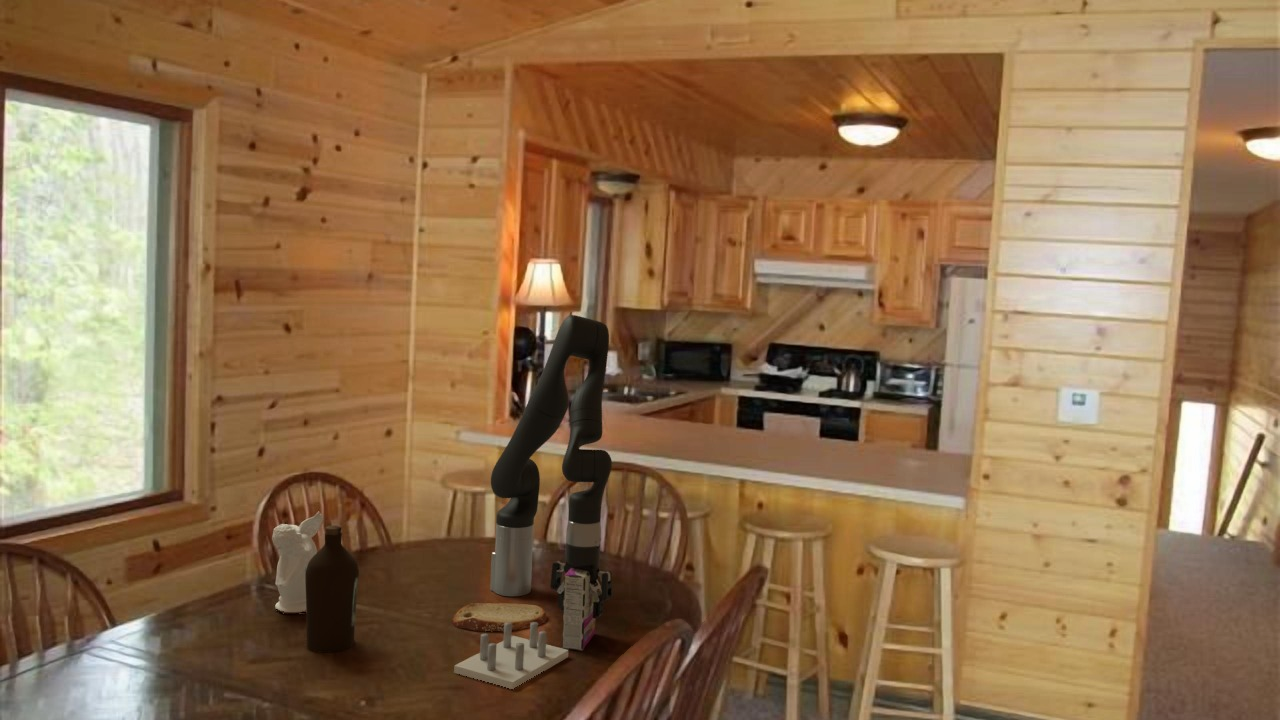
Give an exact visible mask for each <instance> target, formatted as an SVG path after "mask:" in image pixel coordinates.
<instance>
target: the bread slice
mask: <svg viewBox="0 0 1280 720" xmlns="http://www.w3.org/2000/svg"><path fill="white" fill-rule="evenodd" d="M547 620H548V616H547V614H546V611H545V610H544V608H542V607H541V606H538V605H534V604H527V603H526V604H525V603H523V604H522V603H513V602H512V603H509V602H508V603H507V602H506V603H504V602H499V603H497V602H496V603H491V602H490V603H489V602H487V603H479V602H476V603H474V602H471V603H470V604H468V605H464V606H463V607H461V608H460V609H458V610H457V612H455V613H454V615H453V616H452V619H451V621H450V624H451V623H452V624H453V625H454V626H453V625H452V624H451V625H452V626H453V627H454V628H456V627H458V628H457V629H462V628H463V629H464V630H468V629H469V631H472V630H473V632H480V631H485V632H484V633H487V632H486V631H491V633H494V632H493V631H501V632H504V623H506V622H510V623H512V631H518V630H517V629H520V630H524V629H523V628H526V629H529V628H528V627H530V623H531V622H537V623H538V626H539V625H542V624H543V623H545V622H546V621H547Z"/></svg>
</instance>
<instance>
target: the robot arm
mask: <svg viewBox="0 0 1280 720" xmlns="http://www.w3.org/2000/svg"><path fill="white" fill-rule="evenodd" d="M609 331H610V330H609V328H608V326H607V324H605V323H603V322H601V321H598V320H595V319H591V318H587V317H583V316H579V315H574V314H570V315H567V316H566V317H565V318H564V319H563V320H562V322H561V324H560V327H558V330H557V333H556V336H555V337H554V338H555V339H554V340H553V344H552V347H551V349H550V352H549V355H548V358H547V360H546V363H545V365H544V369H543V370H542V372H541V374H540V377H539V379H538V381H537V383H536V385H535V387H534V389H533V391H532V393H531V396H530V397H529V399H528V400H527V401H528V402H527V404H526V406H525V408H524V410H523V413H522V416H521V418H520V420H519V422H518V423H517V425H516V428H515V430H514V432H513V434H512V436H511V438H510V440H509V442H508V443H507V445H506V446H505V448H504V449H503V452H502V453H501V454H500V456H499V458H498V460H497V461H496V463H495V465H494V466H493V469H492V472H491V476H490V486H491V487H490V488H491V490H492V492H493V494H494V495H495V496H496V497H498V498H499V499H500V498H501V499H509V501H508V502H507V503H506V505H504V506H503V507H502V508H500V509H499V510H498V511H497V512H496V517H495V518H496V519H495V520H496V522H495V524H496V525H495V526H496V527H495V547H494V549H495V550H494V551H492V552H491V556H490V557H491V560H490V561H491V562H490V563H491V565H490V587H489V591H493V593H495V594H497V595H500V596H503V597H521V596H525V595H528V594H530V593H531V590H532V588H531V587H532V567H533V548H534V543H533V542H534V528H535V527H534V524H535V523H534V521H535V517H536V514H537V512H538V505H539V497H540V496H539V494H540V488H541V487H540V484H541V479H540V478H541V477H540V476H541V475H540V470H539V467H538V465H537V463H536V462H535V461H534V460H533V459H531V457H532V456H533V455H534V454H535V453H536V452H537V451H538V450H539V449H540V448H541V447H542V446H543V445H544V444H546V443H547V441H549V440H550V439H551V438H552V436H554V434H555V433H556V432H557V431H558V430H559V428H560V426H561V424H562V422H563V420H564V418H565V416H566V413H567V411H568V410H569V409H568V408H569V405H570V413H569V414H570V417H569V418H570V419H569V420H570V421H569V425H570V426H569V427H570V429H569V431H570V432H569V439H568V444H567V448H566V451H565V453H564V457H563V461H562V463H561V471H562V474H563V476H564V478H565V480H567V481H569V482H572V483H592V485H591V486H590V487H589V488H588V489H585V490H581V491H576V492H573V493H572V494H571V495H570V496H569V499H568V517H567V518H568V519H567V525H566V530H565V533H566V536H565V551H564V552H565V554H564V556H565V557H564V560H565V563H564V562H563V560H557V561H555V562H553V563H552V567H551V577H550V586H549V587H550V589H551V590H554V591H556V592H557V594H558V595H557V607H558V608H559V611H563V608H564V580H563V581H562V577H563V575H562V574H563V572H564V574H566V573H567V572H568V571H569V570H570V569H571V568H576V569H581V570H585V571H589V572H590V582H589V593H590V594H591V595H592V597H593V598H594V600H595V602H594V603H593V618H595V619H596V620H597V619H599V618H600V617H601V616H602V615H603V613H604V612H603V611H604V602H607V601H608V600H609V599H612V598H613V573H612V571H610V570H608V571H603V570H602V571H601V570H600V567H599V565H600V560H601V542H602V527H601V521H602V520H601V516H602V502H603V497H604V493H605V490H606V486H607V483H608V480H609V478H610V476H611V475H610V474H611V470H612V466H613V461H612V458H611V456H610V454H609V453H608V451H606V450H604V449H589V448H587V449H585V448H584V449H583V448H582V449H581V447H583V446H586V445H590V444H594V443H596V442H599V441H600V440H601V439H602V437H603V391H604V384H605V379H606V371H607V363H608V356H609V348H610V347H609V346H610V333H609ZM571 356H572V357H574V358H575V357H576V358H579V359H583V360H588V365H589V366H588V368H589V369H588V373H587V375H586V377H585V379H584V381H583V382H582V384H581V385H580V386H579V387H578V389H577V390H576V392H575V394H574V396H572V397H573V398H572V400H571V404H570V402H569V399H570V398H569V393H568V388H567V383H566V379H565V369H566V364H567V362H568V359H570V357H571ZM598 579H599V580H598ZM599 581H600V582H601V584H600V582H599ZM592 585H594V587H593V586H592Z"/></svg>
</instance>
